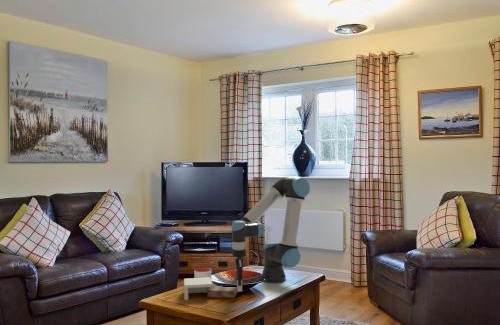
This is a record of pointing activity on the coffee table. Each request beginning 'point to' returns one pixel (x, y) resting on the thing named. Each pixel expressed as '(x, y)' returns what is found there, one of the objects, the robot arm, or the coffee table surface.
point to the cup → (202, 273)
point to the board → (222, 291)
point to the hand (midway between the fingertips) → (239, 291)
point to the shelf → (196, 285)
